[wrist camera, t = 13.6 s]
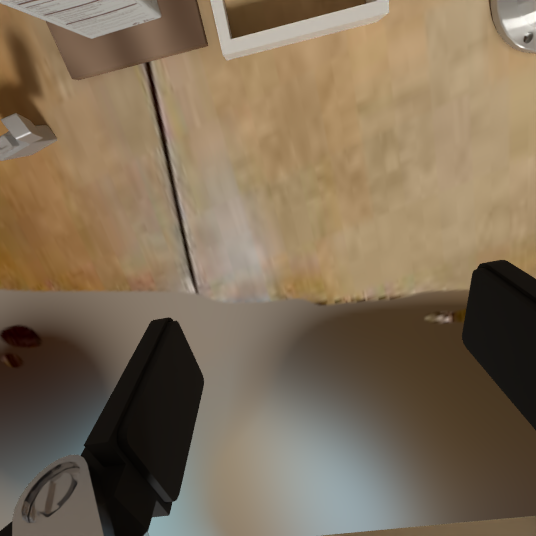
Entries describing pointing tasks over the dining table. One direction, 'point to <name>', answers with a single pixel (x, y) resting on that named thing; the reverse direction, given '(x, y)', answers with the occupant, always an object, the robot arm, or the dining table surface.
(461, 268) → the dining table surface
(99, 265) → the dining table surface
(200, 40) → the board
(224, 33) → the bin
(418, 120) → the dining table surface
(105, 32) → the supplement box
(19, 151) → the lighter
